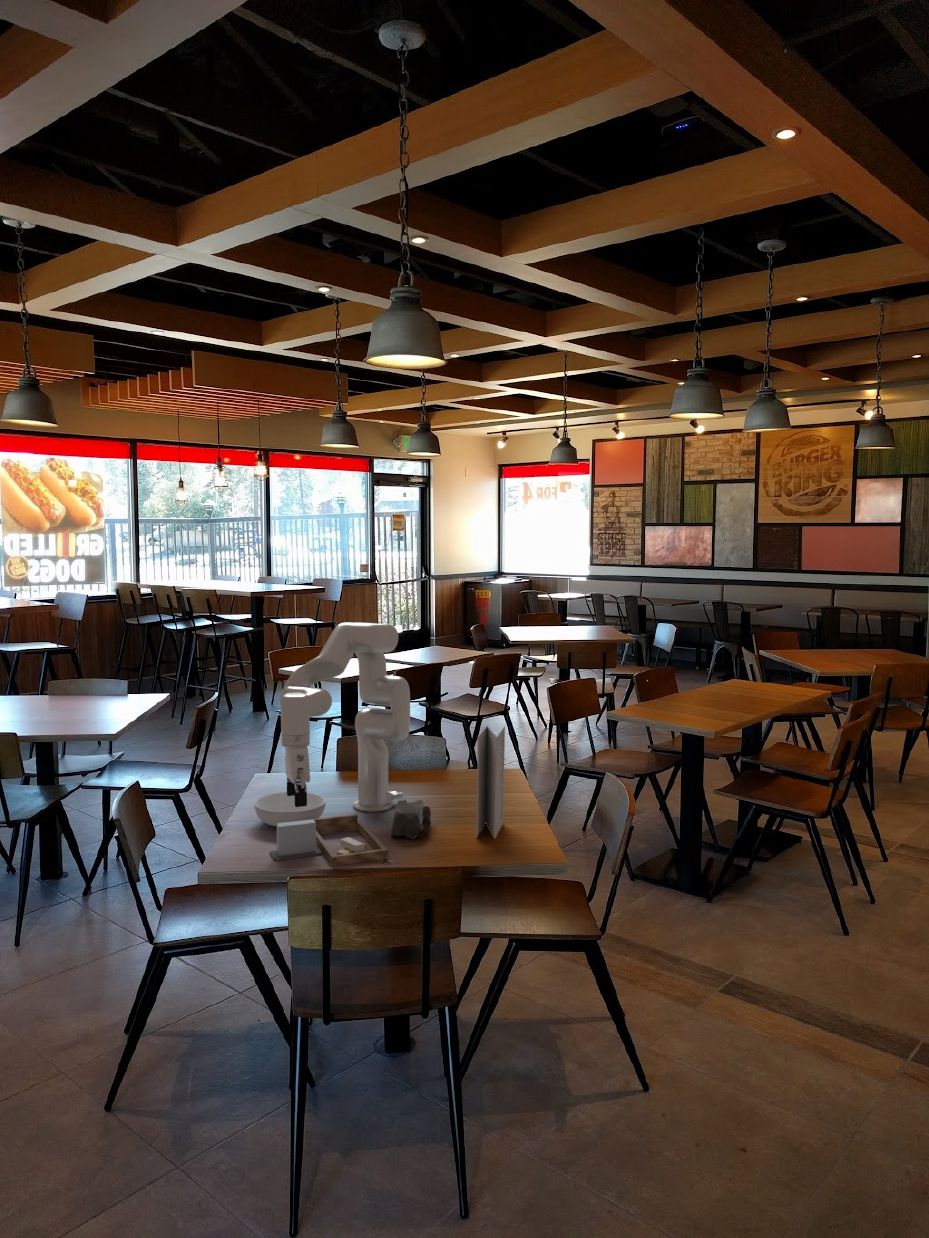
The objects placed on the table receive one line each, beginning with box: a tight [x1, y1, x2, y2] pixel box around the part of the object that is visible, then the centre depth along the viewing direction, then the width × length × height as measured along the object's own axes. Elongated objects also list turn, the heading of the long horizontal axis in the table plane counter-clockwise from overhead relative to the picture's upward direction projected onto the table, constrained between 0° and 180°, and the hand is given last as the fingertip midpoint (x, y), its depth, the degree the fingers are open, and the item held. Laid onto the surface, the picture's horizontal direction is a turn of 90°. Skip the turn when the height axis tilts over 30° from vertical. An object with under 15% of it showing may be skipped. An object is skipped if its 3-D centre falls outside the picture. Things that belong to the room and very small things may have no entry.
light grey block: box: [276, 819, 316, 856], centre depth 246 cm, size 10×3×8 cm, turn 113°
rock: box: [391, 799, 432, 840], centre depth 265 cm, size 18×11×8 cm, turn 0°
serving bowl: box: [253, 791, 326, 828], centre depth 271 cm, size 21×21×7 cm
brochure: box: [475, 725, 506, 839], centre depth 265 cm, size 14×6×30 cm, turn 168°
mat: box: [269, 845, 323, 861], centre depth 246 cm, size 13×6×1 cm, turn 113°
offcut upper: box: [340, 836, 365, 852], centre depth 247 cm, size 7×3×2 cm, turn 44°
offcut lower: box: [336, 843, 368, 855], centre depth 247 cm, size 9×3×2 cm, turn 147°
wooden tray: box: [313, 813, 389, 867], centre depth 253 cm, size 15×26×4 cm, turn 23°
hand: (296, 800), depth 245 cm, fingers open, 9 cm apart
